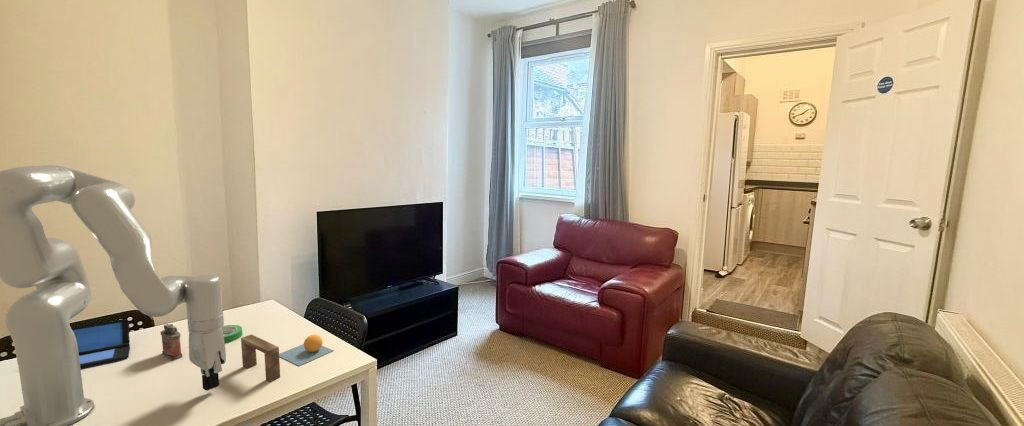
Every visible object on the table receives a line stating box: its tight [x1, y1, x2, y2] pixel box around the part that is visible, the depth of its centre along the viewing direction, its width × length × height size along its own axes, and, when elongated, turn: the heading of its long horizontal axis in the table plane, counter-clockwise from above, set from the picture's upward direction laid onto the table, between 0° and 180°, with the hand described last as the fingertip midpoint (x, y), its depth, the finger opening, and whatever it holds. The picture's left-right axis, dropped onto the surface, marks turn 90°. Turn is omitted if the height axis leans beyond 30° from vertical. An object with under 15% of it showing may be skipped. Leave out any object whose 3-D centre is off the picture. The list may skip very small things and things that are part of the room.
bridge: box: [240, 334, 281, 382], centre depth 123 cm, size 3×14×9 cm, turn 59°
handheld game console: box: [70, 318, 131, 370], centre depth 128 cm, size 16×13×9 cm
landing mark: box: [279, 343, 335, 367], centre depth 135 cm, size 12×12×1 cm
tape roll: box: [222, 324, 243, 344], centre depth 144 cm, size 11×11×3 cm
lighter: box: [160, 323, 183, 361], centre depth 130 cm, size 8×3×10 cm, turn 62°
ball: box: [303, 334, 323, 352], centre depth 136 cm, size 6×6×6 cm
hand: (211, 387), depth 112 cm, fingers closed
